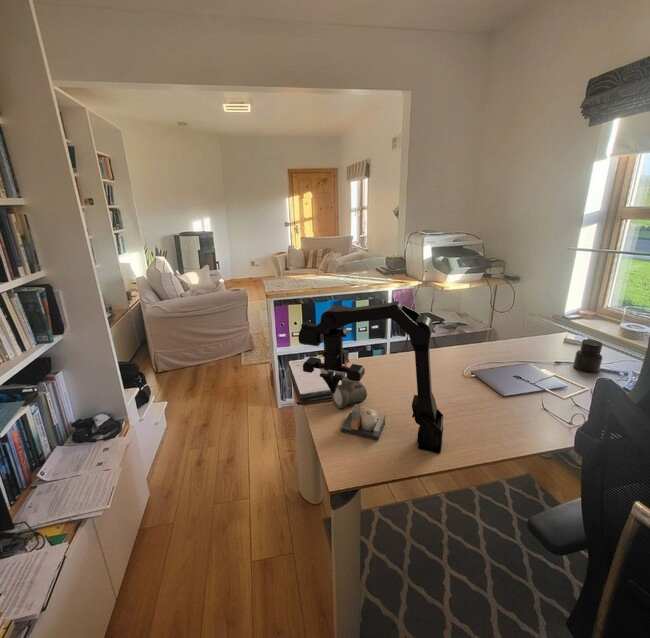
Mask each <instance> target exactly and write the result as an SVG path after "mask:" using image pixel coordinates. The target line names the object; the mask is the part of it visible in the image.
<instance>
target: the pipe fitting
mask: <svg viewBox="0 0 650 638" xmlns="http://www.w3.org/2000/svg"><path fill="white" fill-rule="evenodd" d="M340 381H341V384H338V386H337V389H336V391H335V393H332V392H331V401H332V403H333V405H334V406H335V408H337V409H342V408H345V407H346V406H347V405H348V404H351V403H352V404H353V403H357V402H361V401H365V400H366V399H367V397H368V391H367V388H366V386H365V385H364V384H362V382H361V381H358V382H357V381H352V380H349V379H348V378H347V375H345V376H344V378H343V379H342V380H340Z"/></svg>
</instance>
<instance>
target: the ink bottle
mask: <svg viewBox="0 0 650 638" xmlns="http://www.w3.org/2000/svg"><path fill="white" fill-rule="evenodd" d="M602 348H603V343H602V342H600V341H599V340H595V339H590V338H589V339H588V338H587V339H586V338H585V339H582V341H581V345H580V349H579V350H577V351H576V352H575V356H574V361H573V367H574V368H576V369H577V370H579V371H581V372H585V373H591V374H593V373H594V374H595V373H598V372H600V369H601V365H602V361H603V356H602V354H601V352H602Z"/></svg>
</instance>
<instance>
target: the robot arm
mask: <svg viewBox="0 0 650 638" xmlns="http://www.w3.org/2000/svg"><path fill="white" fill-rule="evenodd" d="M387 319H388V320H390V319H391V320H392V321H393V322H395V323H396V324H397V325H398V326H399V328H400V329H401V330H403V331H404V332H405V333H407V334H408V337H409V340H410V341H409V342H410V345H411V347H412V349H413V351H414V360H415V362H414V363H415V372H416V373H415V374H416V389H417V391H416V393H417V395H416V394H414V395H413V398H412V402H411V410H412V416H411V418H414V421H415V423H416V425H418V426H419V427H418V429H417V438H416V439H417V440H416V442H417V443H418V444H417V449H420V450H423V451H428V452H432V453H435V454H441V452H442V448H443V434H444V426H443V425H444V417H445V416H444V414H443V413H442V412H441V411H440V410H439V409H438V405H437V403H436V397H435V396H434V394H433V391H432V390H433V389H432V374H431V372H432V371H431V355H430V354H431V353H430V348H431V345H430V344H431V338H432V332H433V326H434V323H433V320H432V319H431V318H430V317H428V316H427V315H424V314H420V313H419V312H418V311H416V310H415V309H412V308H410V307H408V306H406V305H405V304H403V303H401V302H400V301H392V302H387V303H386V302H385V303H378V304H371V305H364V306H355V307H353V306H352V307H350V306H347V305H331V306H329V308H327V309H326V310H325V311H324V312H322V314H321V315H320V322H319V323H317V324H315V323H310V322H305V321H304V322H303V323H302V324H301V325H300V327H301V328H300V330H299V333H298V334H299V335H298V342H299V344H300V345H306V346H311V347H312V346H313V347H314V346H315V347H319V346H320V345H321V344H323V352H322V355H321V356H322V357H323V362H322V359H321V358H320V357H313V356H310V357H309V358H307V360H305V361H304V362H303V364H302V371H303V372H304V373H309V374H312V373H313V372H314V371H315V369H319V370H320V373H319V377H320V378H322V379H323V380H324V382H325V384H326V386H328V389H329V390H330V391H331V394H332V393H335V391H336V389H337V386H338V385H339V384H340V383H339V382H340V381H341V380H342V379H343V378H344V376H347V378H348V379H349V380H352V381H355V382H358V381H359V382H361V380H362V378H363V377H364V375H365V374H366V372H365V371H366V368H365V367H364V365H363V364H355V363H352V364H351V365H350V366H349V367H348V366H347V365H345V364H346V362H348V360H349V352H350V351H349V350H345V348H343V344H344V343H343V338H347V336H348V335H349V334H350V330H348V329H347V328H346V327H345V326H348V325H351V324H355V323H363V322H371V321H380V320H387Z"/></svg>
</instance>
